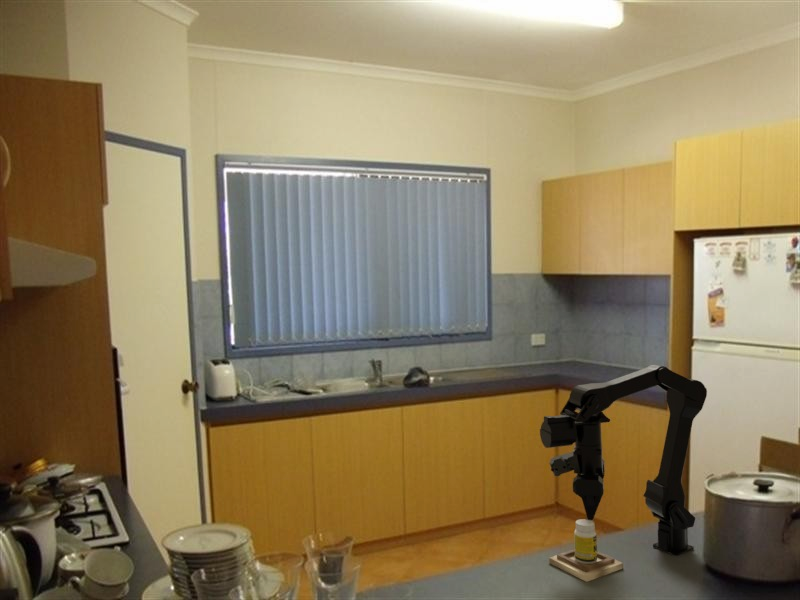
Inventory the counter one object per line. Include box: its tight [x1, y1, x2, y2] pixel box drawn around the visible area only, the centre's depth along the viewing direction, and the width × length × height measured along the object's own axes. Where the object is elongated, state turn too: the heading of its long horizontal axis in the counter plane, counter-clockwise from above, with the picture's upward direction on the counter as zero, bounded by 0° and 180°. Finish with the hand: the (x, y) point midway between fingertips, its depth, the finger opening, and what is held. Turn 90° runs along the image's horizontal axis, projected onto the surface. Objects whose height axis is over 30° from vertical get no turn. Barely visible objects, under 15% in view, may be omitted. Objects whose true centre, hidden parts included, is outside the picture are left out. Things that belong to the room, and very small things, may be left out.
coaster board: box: [548, 548, 624, 583], centre depth 143 cm, size 11×11×2 cm
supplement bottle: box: [573, 518, 598, 564], centre depth 143 cm, size 5×5×8 cm
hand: (591, 512), depth 146 cm, fingers open, 9 cm apart
